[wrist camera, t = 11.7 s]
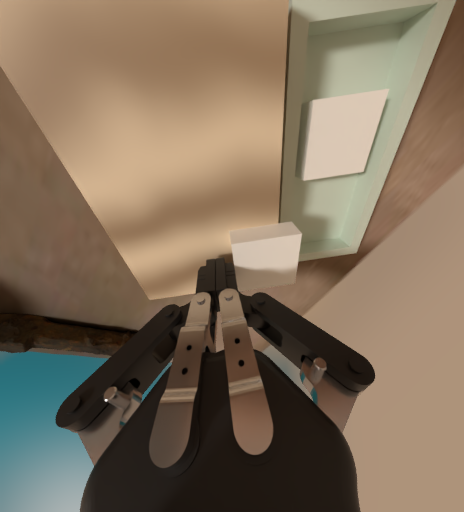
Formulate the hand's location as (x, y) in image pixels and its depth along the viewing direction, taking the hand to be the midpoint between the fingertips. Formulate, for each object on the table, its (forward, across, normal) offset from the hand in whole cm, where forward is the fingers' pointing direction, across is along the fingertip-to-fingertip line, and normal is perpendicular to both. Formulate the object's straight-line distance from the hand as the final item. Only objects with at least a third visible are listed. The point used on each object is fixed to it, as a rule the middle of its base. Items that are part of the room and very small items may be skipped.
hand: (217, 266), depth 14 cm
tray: (+6, -11, -5) cm, 13 cm away
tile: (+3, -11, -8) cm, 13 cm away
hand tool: (+6, +25, +14) cm, 29 cm away
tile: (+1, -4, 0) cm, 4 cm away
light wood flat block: (+6, +1, -5) cm, 8 cm away
